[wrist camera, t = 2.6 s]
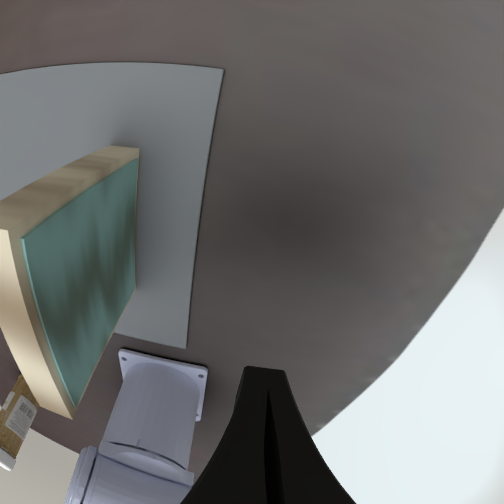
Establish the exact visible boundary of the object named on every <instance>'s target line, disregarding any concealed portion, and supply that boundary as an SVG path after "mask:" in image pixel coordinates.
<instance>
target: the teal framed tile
mask: <svg viewBox="0 0 504 504" xmlns="http://www.w3.org/2000/svg"><path fill="white" fill-rule="evenodd" d="M139 153H140V148H133V147H123V146H113V145H109V146H107V147H104V148H102V149H100V150H97V151H95V152H93V153H91V154H88V155H86V156H84V157H82V158H80V159H77V160H75V161H73V162H71V163H69V164H67V165H65V166H63V167H61V168H59V169H57V170H55V171H53V172H51V173H49V174H47V175H45V176H43V177H41V178H40V179H38V180H36V181H34V182H32V183H30V184H29V185H27V186H25V187H23V188H21V189H20V190H18V191H16V192H15V193H13V194H11V195H9V196H8V197H6V198H4V199H3V200H1V201H0V327H1V329H2V332H3V334H4V336H5V339H6V341H7V343H8V346H9V348H10V350H11V352H12V354H13V356H14V359H15V361H16V363H17V365H18V367H19V369H20V371H21V373H22V375H23V377H24V378H25V380H26V382H27V384H28V386H29V388H30V390H31V391H32V393H33V395H34V397H35V398H36V400H37V402H38V403H39V405H40V406H41V407H43V408H46V409H48V410H50V411H52V412H55V413H57V414H60V415H62V416H65V417H67V418H70V419H72V420H73V418H74V415H75V413H76V411H77V408H78V406H79V404H80V401H81V399H82V397H83V395H84V392H85V390H86V388H87V386H88V384H89V381H90V379H91V377H92V375H93V373H94V371H95V369H96V366H97V364H98V362H99V360H100V358H101V356H102V354H103V352H104V350H105V348H106V346H107V344H108V342H109V340H110V338H111V336H112V334H113V332H114V330H115V328H116V326H117V324H118V322H119V320H120V318H121V317H122V315H123V313H124V311H125V309H126V307H127V305H128V303H129V302H130V300H131V298H132V296H133V294H134V292H135V291H136V283H135V222H136V196H137V179H138V165H139Z"/></svg>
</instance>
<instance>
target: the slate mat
mask: <svg viewBox="0 0 504 504" xmlns="http://www.w3.org/2000/svg"><path fill="white" fill-rule="evenodd" d="M223 74H224V69H217V68H209V67H200V66H190V65H178V64H163V63H133V62H116V63H86V64H72V65H60V66H51V67H43V68H35V69H28V70H22V71H16V72H10V73H5V74H0V201H1V200H3V199H4V198H6V197H8V196H9V195H11V194H13V193H15V192H16V191H18V190H20V189H21V188H23V187H25V186H27V185H29V184H30V183H32V182H34V181H36V180H38V179H40V178H41V177H43V176H45V175H47V174H49V173H51V172H53V171H55V170H57V169H59V168H61V167H63V166H65V165H67V164H69V163H71V162H73V161H75V160H77V159H80V158H82V157H84V156H86V155H88V154H91V153H93V152H95V151H97V150H100V149H102V148H104V147H107V146H109V145H113V146H123V147H133V148H140V153H139V165H138V179H137V196H136V222H135V283H136V291H135V292H134V294H133V296H132V298H131V300H130V302H129V303H128V305H127V307H126V309H125V311H124V313H123V315H122V317H121V318H120V320H119V322H118V324H117V326H116V328H115V330H114V332H115V333H118V334H122V335H126V336H130V337H134V338H138V339H142V340H147V341H151V342H155V343H160V344H164V345H169V346H173V347H178V348H183V349H186V346H187V335H188V323H189V312H190V301H191V290H192V281H193V271H194V262H195V253H196V245H197V236H198V228H199V221H200V213H201V206H202V198H203V191H204V184H205V178H206V171H207V164H208V158H209V152H210V146H211V140H212V134H213V128H214V122H215V116H216V111H217V105H218V100H219V95H220V89H221V84H222V79H223Z"/></svg>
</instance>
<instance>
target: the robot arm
mask: <svg viewBox="0 0 504 504" xmlns="http://www.w3.org/2000/svg"><path fill="white" fill-rule="evenodd" d="M119 360H120V366H121V371H122V376H123V384H122V386H121V389H120V391H119V394H118V397H117V399H116V402H115V405H114V408H113V410H112V413H111V416H110V419H109V422H108V424H107V427H106V430H105V433H104V436H103V439H102V441H101V443H100V445H99V447H98V449H97V451H96V448H95V447H93V446H88V448H87V447H86V448H83V449H82V450H81V453H80V455H79V458H78V461H77V464H76V467H75V470H74V473H73V476H72V479H71V482H70V485H69V488H68V492H67V495H66V498H65V502H64V504H356V503H355V502H354V500H353V499H352V498H351V497H350V496H349V494H348V493H347V492H346V491H345V490H344V488H343V487H342V486H341V485H340V483H339V482H338V480H337V479H336V478H335V476H334V475H333V473H332V472H331V470H330V469H329V467H328V466H327V464H326V463H325V461H324V459H323V458H322V456H321V454H320V453H319V451H318V449H317V448H316V445H315V443H314V442H313V440H312V438H311V436H310V434H309V432H308V430H307V428H306V425H305V423H304V421H303V419H302V416H301V414H300V412H299V409H298V407H297V405H296V402H295V399H294V397H293V394H292V391H291V389H290V386H289V383H288V379H287V376H286V373H285V372H284V370H277V369H269V368H261V367H254V366H246V367H244V370H243V374H242V377H241V381H240V384H239V388H238V391H237V395H236V400H235V406H234V411H233V415H232V417H231V420H230V422H229V424H228V426H227V428H226V430H225V433H224V435H223V437H222V439H221V441H220V443H219V445H218V447H217V448H216V450H215V452H214V454H213V456H212V457H211V459H210V461H209V462H208V464H207V466H206V467H205V469H204V471H203V472H202V474H201V475H200V477H199V478H198V480H197V481H196V483H193V479H194V473H192V472H189V471H187V469H188V463H189V456H190V450H191V444H192V438H193V432H194V426H195V421H200V420H201V414H202V407H203V400H204V393H205V386H206V380H207V373H208V370H207V368H205V367H203V366H198V365H193V364H188V363H183V362H178V361H173V360H168V359H164V358H159V357H155V356H151V355H146V354H142V353H138V352H134V351H130V350H126V349H120V350H119Z"/></svg>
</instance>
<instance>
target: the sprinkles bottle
mask: <svg viewBox="0 0 504 504" xmlns="http://www.w3.org/2000/svg"><path fill="white" fill-rule="evenodd" d="M39 406H40V405H39V403H38V402H37V400H36V398H35V397H34V395H33V393H32V391H31V390H30V388H29V386H28V384H27V382H26V380H25V378H24V377H23V375H22V374H20V375H19V377H18V380H17V382H16V384H15V385H14V387H13V389H12V391H11V392H10V394H9V395H8V397H7V399H6V401H5V403H4V405H3V407H2V409H1V411H0V466H1V467H3V468H5V469H7V470H9V471H12V469H13V467H14V465H15V462H16V460H15V459H16V456H17V454H18V451H19V449H20V447H21V445H22V442H23V441H24V439H25V436H26V434H27V432H28V430H29V428H30V426H31V424H32V421H33V419H34V417H35V415H36V413H37V410H38V408H39Z"/></svg>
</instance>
